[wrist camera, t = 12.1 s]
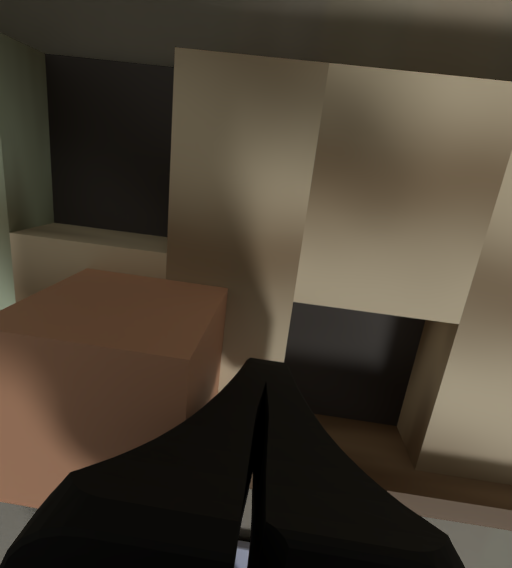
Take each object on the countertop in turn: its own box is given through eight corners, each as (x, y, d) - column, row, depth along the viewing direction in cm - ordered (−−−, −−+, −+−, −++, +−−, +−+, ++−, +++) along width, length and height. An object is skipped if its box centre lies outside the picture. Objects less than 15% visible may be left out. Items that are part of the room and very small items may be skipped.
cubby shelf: (524, 459, 15) (592, 544, 12) (-61, 370, 16) (-153, 423, 13) (675, 91, 11) (849, 56, 8) (-121, 10, 12) (-281, -51, 9)
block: (215, 411, 13) (177, 533, 9) (89, 391, 13) (-9, 499, 9) (227, 288, 11) (189, 359, 7) (86, 268, 12) (-32, 326, 7)
